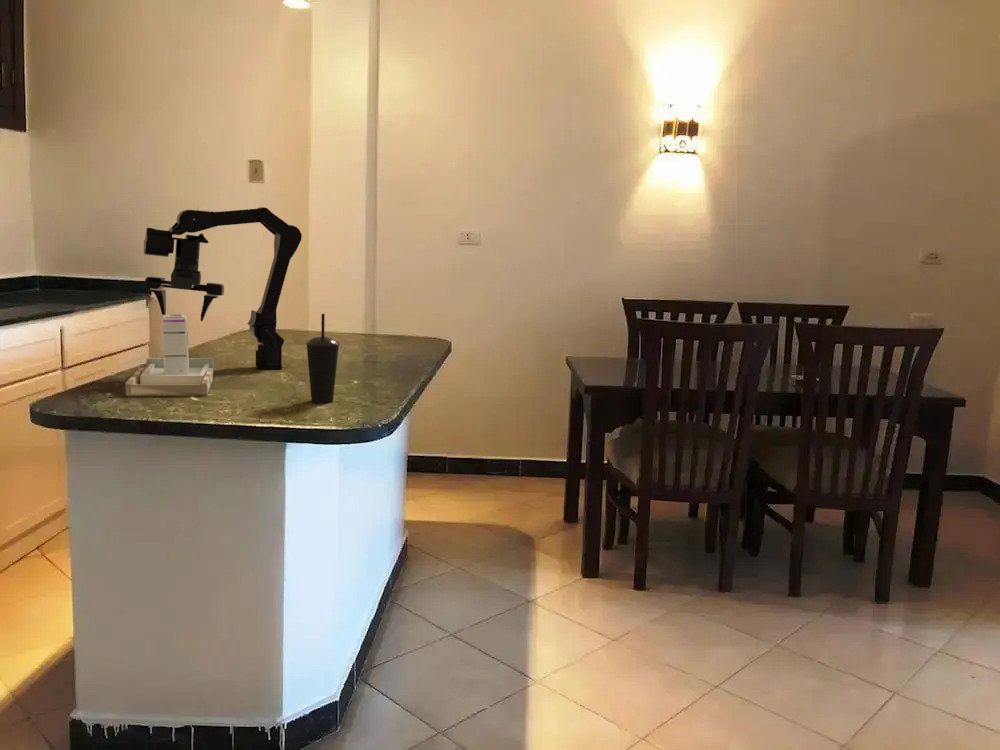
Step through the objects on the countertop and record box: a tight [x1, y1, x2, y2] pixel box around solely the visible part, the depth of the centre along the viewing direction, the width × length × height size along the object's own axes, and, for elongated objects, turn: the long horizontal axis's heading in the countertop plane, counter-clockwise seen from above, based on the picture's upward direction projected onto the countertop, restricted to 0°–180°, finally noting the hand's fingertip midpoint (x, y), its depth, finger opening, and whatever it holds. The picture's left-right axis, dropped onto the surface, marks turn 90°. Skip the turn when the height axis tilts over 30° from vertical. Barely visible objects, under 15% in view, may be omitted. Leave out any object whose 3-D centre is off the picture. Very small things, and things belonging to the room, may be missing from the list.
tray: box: [140, 357, 215, 384], centre depth 203 cm, size 18×16×3 cm
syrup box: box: [160, 313, 190, 375], centre depth 200 cm, size 6×6×14 cm
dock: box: [125, 367, 214, 397], centre depth 194 cm, size 19×17×3 cm
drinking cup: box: [305, 313, 341, 404], centre depth 186 cm, size 8×8×20 cm
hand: (182, 319), depth 213 cm, fingers open, 9 cm apart
